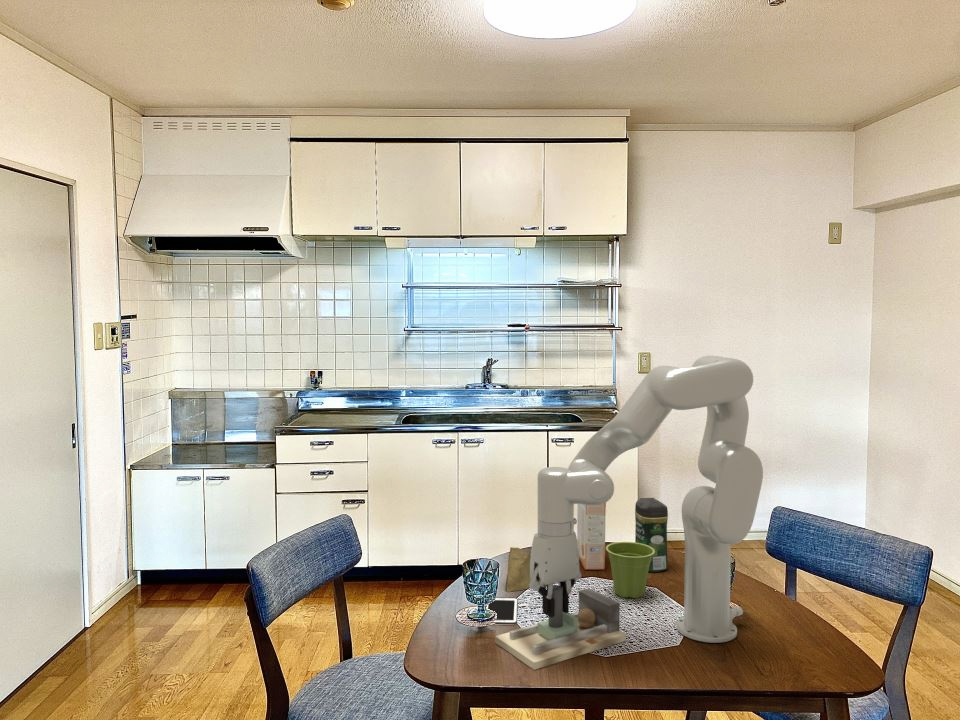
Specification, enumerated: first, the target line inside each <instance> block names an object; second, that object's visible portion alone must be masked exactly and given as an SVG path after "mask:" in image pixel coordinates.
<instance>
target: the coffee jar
mask: <svg viewBox="0 0 960 720" xmlns="http://www.w3.org/2000/svg"><path fill="white" fill-rule="evenodd" d="M634 505H635V509H634V516H635V517H634V519H635V520H634V521H635V530H634V531H635V543H641V544H645V545H648V546H650V547H652V548H653V549H654V550H655V553H654V554H653V555H652V560H651V563H650V566H649V571H648V572H652V573H657V572H658V573H659V572H662V571H665V570H667V569H668V520H669V519H668V518H669V512H668V506H667V505H666V504H664V503H663V502H662V501H659V500H657V499H656V498H655V497H641V498H639V499H638V500H636V502H635V504H634Z"/></svg>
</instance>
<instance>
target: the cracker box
mask: <svg viewBox="0 0 960 720" xmlns="http://www.w3.org/2000/svg"><path fill="white" fill-rule="evenodd" d="M606 508H607V502H606V503H604V504H601V505H584V504H577V512H576V513H577V515H576V516H577V518H576V520H577V523H576V526H577V527H576V528H577V529H576V531H577V532H576V533H577V534H576V537H577V543H578V551H579V562H580V563H581V564H582V567H583V568H584V570H586V571H588V570H591V571H592V570H597V571H600V570H601V571H602V570H605V569H606V516H607V515H606V511H607V509H606Z"/></svg>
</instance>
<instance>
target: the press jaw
mask: <svg viewBox="0 0 960 720" xmlns="http://www.w3.org/2000/svg"><path fill="white" fill-rule="evenodd" d="M552 598H554V617H552V618H551V617H549V616H547V617H548V619H545V620H542V621H538V622H537V623H538V633H539V634H541V635H542V636H544V637H546V638H547V639H549V640H553V639H556V638H560V637H563V636H566V635H570V634H573V633H576V632H578V618H577V617H575V616H574V615H572V614H573V613H570V612H568V613H564V612H563V587H562V586H559V584H558V585H557V584H553V591H552Z"/></svg>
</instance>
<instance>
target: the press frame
mask: <svg viewBox="0 0 960 720" xmlns="http://www.w3.org/2000/svg"><path fill="white" fill-rule="evenodd" d="M620 611H621V610H620V602H619V601H616V600H615V599H612V598H611V597H608V596H606V595H604V594H602V593H600V592H598V591H595V589H592V588H590V587H589V588H585V589H582V590H581V589H580V590H578V611H577V612H573V613H571V614H572V615H574V616H575V617H577V618H578V632H576V633H573V634H570V635H566V636H563V637H560V638H556V639H553V640H549V639H547V638H546V637H544V636H542V635H541V634H539V633H538V622H537V623H535V624H531V625H528V626H525V627H524V626H523V627H519V628H517V629H514V630H510V631H509V632H505V633H502V634H501V633H500V634H498V635H495V636H494V640H495V641H494V643H495V645H498V646H499V647H500V648H502V649H503V650H505V651H506V652H507V653H509V654H510V655H512V657H515V658H516V659H518V660H519V661H521V663H523V664H525V665H526V666H528V667H529V668H531V669H532V670H533V671H536V670H540V669H541V668H546V667H548V666H552V665H554V664H558V663H560V662H563V661H566V660H570V659H572V658H576V657H579V656H583V655H586V654H588V653H589V654H590V653H592V652H594V651H598V650H601V649H603V648H607V647H610V646H613V645H616V644H619V643H622V642H625V641H627V633H626V632H624V631H622V630H620V614H621V613H620Z"/></svg>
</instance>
